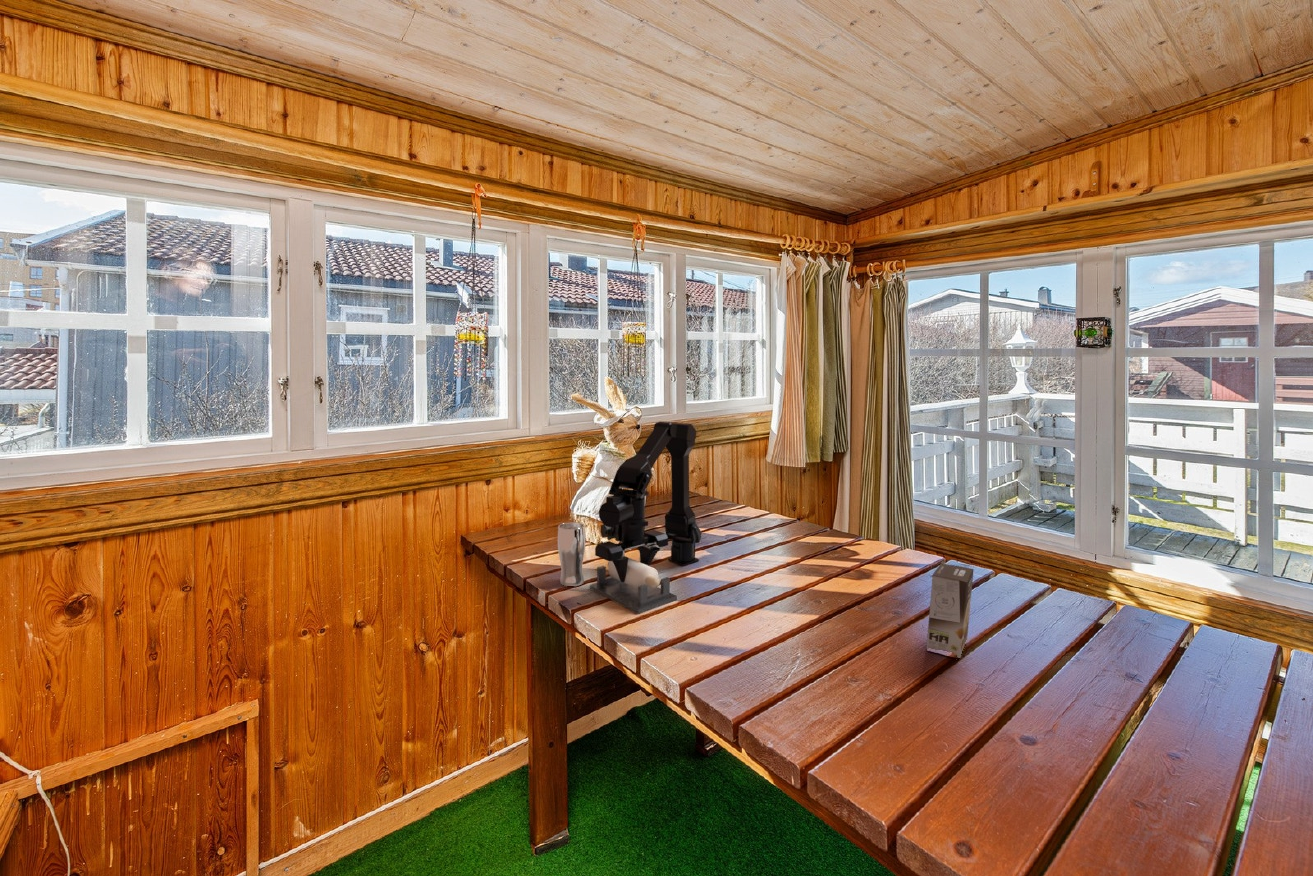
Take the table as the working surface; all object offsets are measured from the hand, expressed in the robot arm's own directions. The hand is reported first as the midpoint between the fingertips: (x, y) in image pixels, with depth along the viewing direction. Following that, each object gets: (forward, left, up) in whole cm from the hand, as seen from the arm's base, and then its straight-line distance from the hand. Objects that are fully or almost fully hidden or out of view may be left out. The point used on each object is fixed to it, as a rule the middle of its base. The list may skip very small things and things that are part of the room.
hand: (632, 578), depth 148 cm
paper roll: (0, 0, -2) cm, 2 cm away
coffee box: (-32, +62, -4) cm, 70 cm away
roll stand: (0, 0, -4) cm, 4 cm away
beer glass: (+7, -16, -4) cm, 18 cm away
